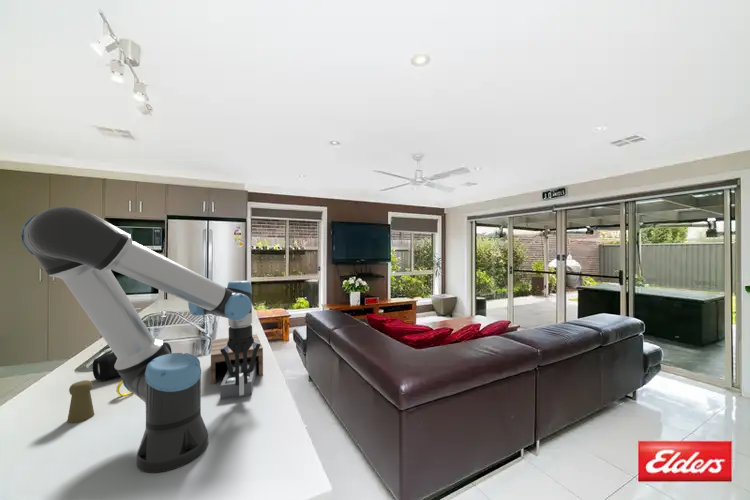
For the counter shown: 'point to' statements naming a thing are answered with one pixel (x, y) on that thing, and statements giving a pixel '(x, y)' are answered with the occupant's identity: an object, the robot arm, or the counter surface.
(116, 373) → the portable speaker
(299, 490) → the counter surface
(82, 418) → the cork
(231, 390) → the tray
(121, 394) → the watch
